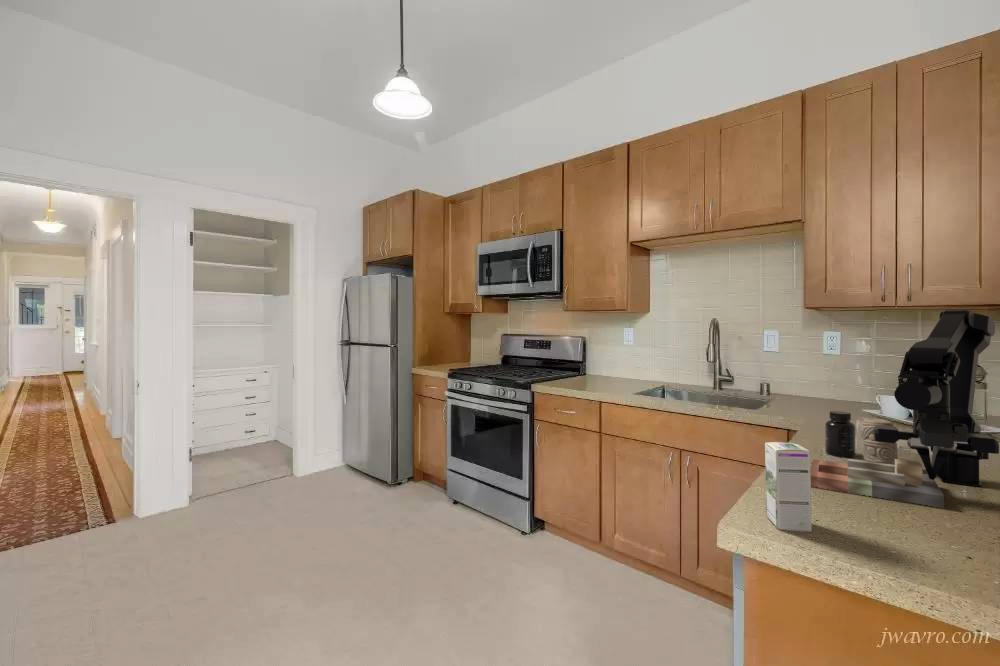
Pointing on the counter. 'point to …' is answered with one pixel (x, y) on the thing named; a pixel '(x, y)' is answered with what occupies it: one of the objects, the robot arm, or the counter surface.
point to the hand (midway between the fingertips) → (931, 479)
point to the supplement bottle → (840, 435)
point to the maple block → (909, 471)
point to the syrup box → (788, 486)
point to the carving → (877, 443)
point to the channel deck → (874, 482)
